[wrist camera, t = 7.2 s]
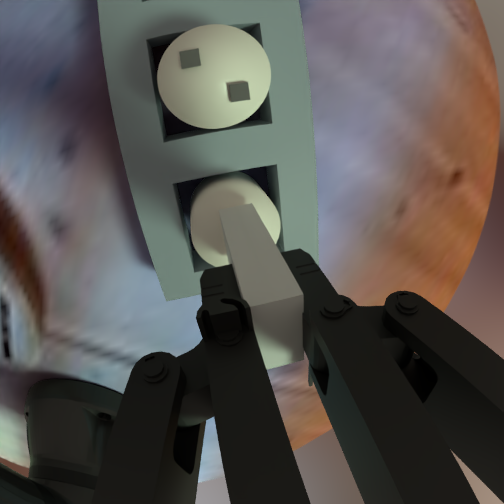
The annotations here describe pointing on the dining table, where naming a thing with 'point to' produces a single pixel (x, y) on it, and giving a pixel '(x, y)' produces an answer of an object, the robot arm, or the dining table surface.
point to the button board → (209, 140)
